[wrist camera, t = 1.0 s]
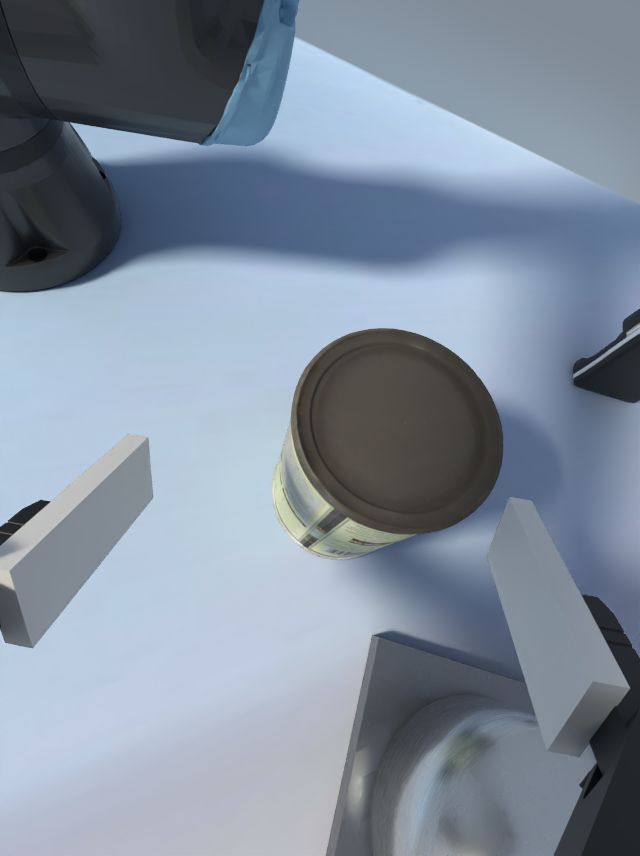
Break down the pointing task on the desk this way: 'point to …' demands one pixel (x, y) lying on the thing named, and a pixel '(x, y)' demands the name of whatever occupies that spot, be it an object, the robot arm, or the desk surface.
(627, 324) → the battery charger
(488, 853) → the door knob
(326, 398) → the coffee can
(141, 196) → the desk surface
